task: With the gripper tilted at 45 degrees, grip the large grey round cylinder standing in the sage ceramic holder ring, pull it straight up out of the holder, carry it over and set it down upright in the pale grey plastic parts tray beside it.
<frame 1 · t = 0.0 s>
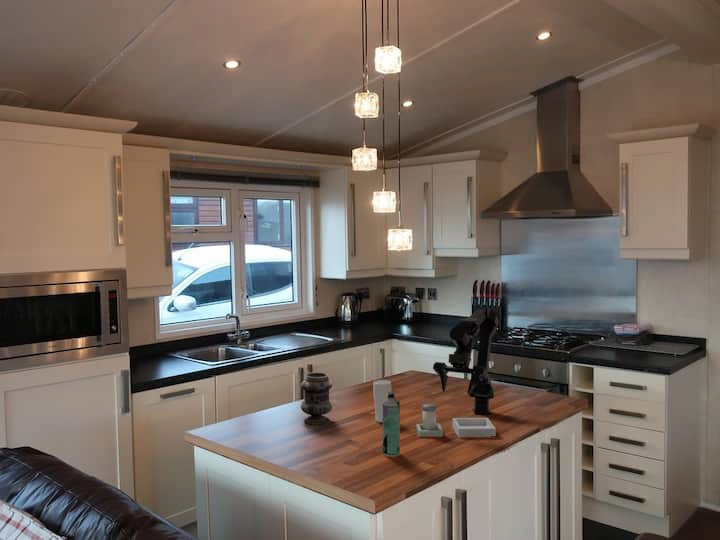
hand: (455, 393, 220), 15 cm above the counter, tool tilted 35°, fingers open, 9 cm apart
parts tray: (473, 431, 224), on the counter
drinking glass: (382, 421, 237), on the counter
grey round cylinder: (429, 433, 223), resting in holder ring
apothecary jar: (316, 421, 238), on the counter
spray can: (391, 454, 201), on the counter
holder ring: (429, 432, 223), on the counter
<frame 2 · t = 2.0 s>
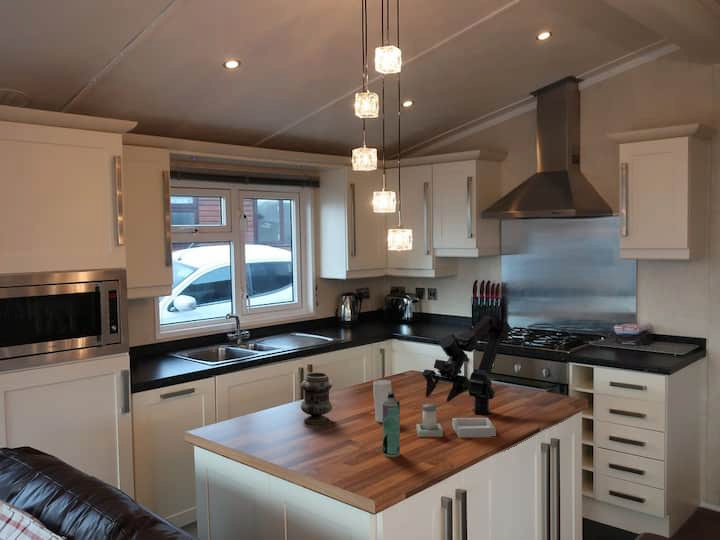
hand: (436, 398, 225), 11 cm above the counter, tool tilted 45°, fingers open, 9 cm apart
nothing on the counter moved.
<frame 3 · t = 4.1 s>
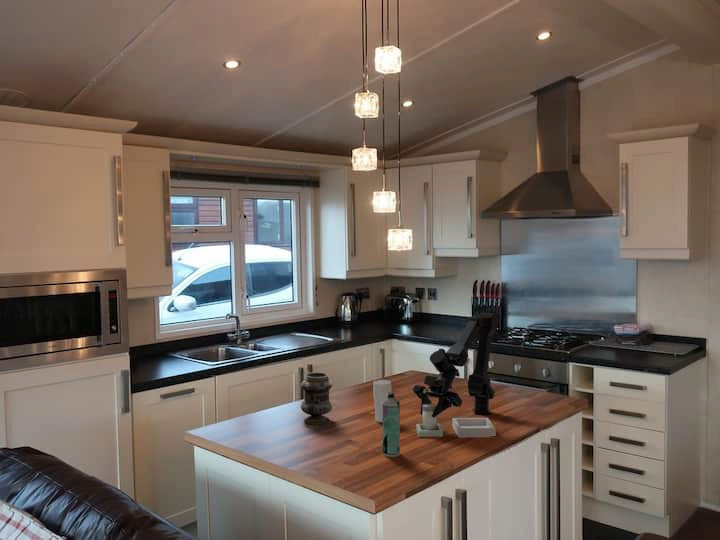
hand: (427, 415, 221), 7 cm above the counter, tool tilted 45°, fingers closed on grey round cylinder, 5 cm apart
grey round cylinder: (429, 432, 223), resting in holder ring, touching gripper
everything else where it was.
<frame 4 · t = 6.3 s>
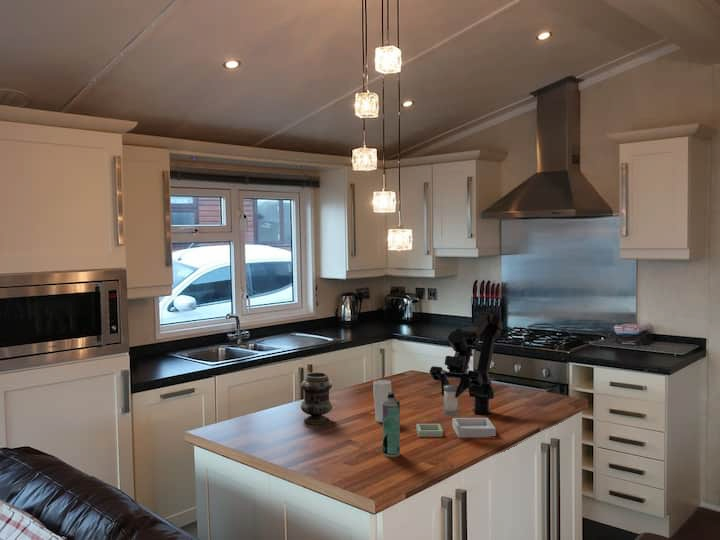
hand: (449, 396, 220), 14 cm above the counter, tool tilted 45°, fingers closed on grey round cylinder, 5 cm apart
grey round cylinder: (450, 413, 222), point 7 cm above the counter, touching gripper
everything else where it was.
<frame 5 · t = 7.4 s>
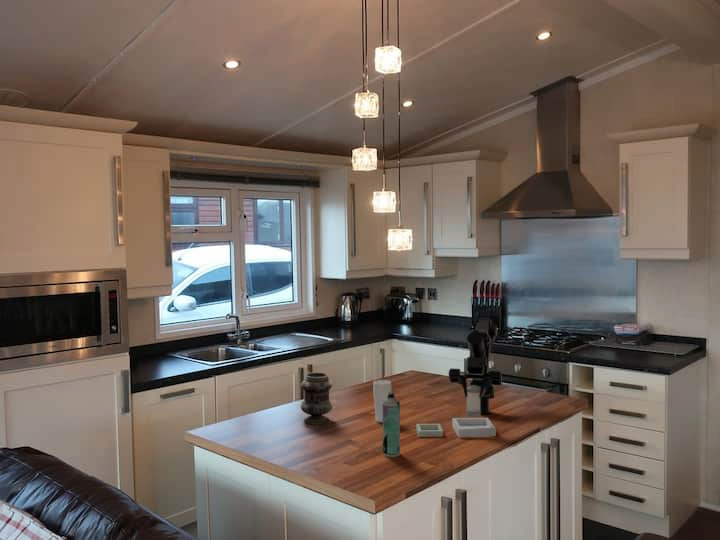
hand: (473, 397, 222), 13 cm above the counter, tool tilted 45°, fingers closed on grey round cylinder, 5 cm apart
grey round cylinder: (473, 414, 224), point 6 cm above the counter, touching gripper
everything else where it was.
when the fingers open (9 cm above the counter, at t = 8.6 s): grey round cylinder drops 1 cm, resting on parts tray.
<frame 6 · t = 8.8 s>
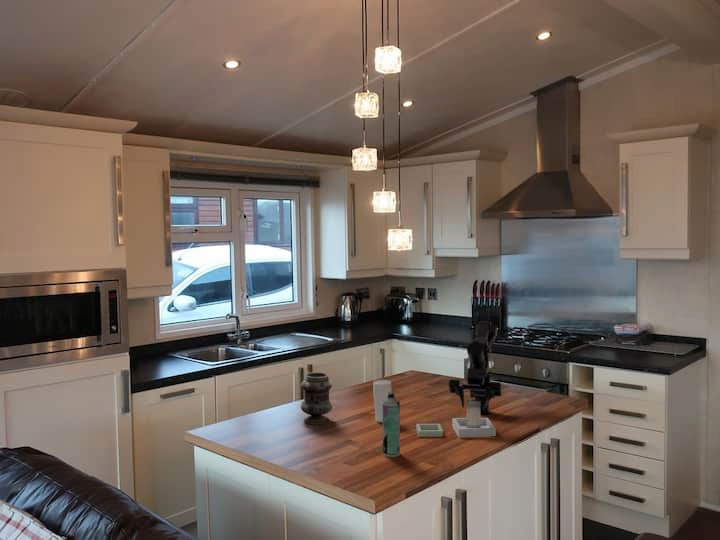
hand: (473, 408, 222), 9 cm above the counter, tool tilted 45°, fingers open, 7 cm apart
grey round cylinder: (473, 429, 224), point 1 cm above the counter, touching parts tray
everything else where it was.
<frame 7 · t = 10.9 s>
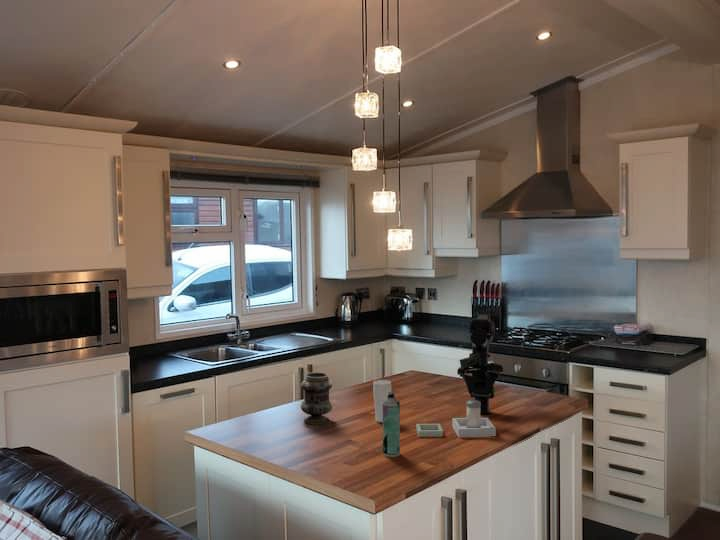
hand: (479, 393, 229), 12 cm above the counter, tool tilted 20°, fingers open, 9 cm apart
nothing on the counter moved.
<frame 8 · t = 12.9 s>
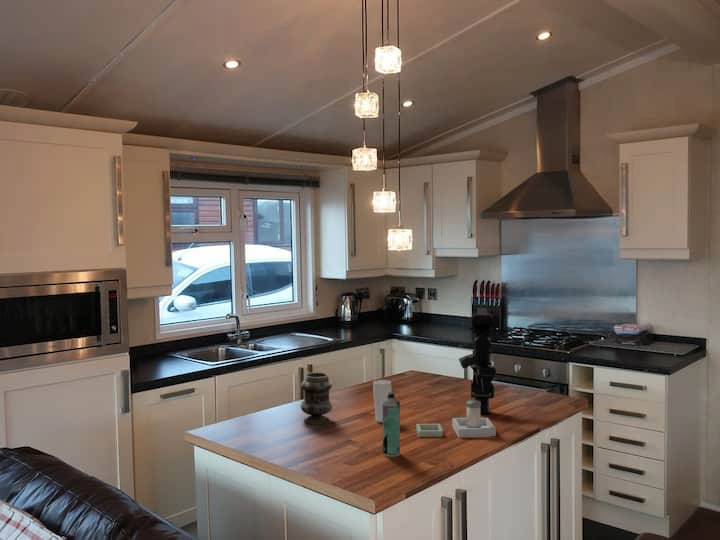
hand: (482, 389, 232), 13 cm above the counter, tool pointing down, fingers open, 9 cm apart
nothing on the counter moved.
at the end: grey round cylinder inside the target area on the parts tray (0.0 cm from its centre), point 0.8 cm above the parts tray's base; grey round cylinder tilted 0°; the gripper is holding nothing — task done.
